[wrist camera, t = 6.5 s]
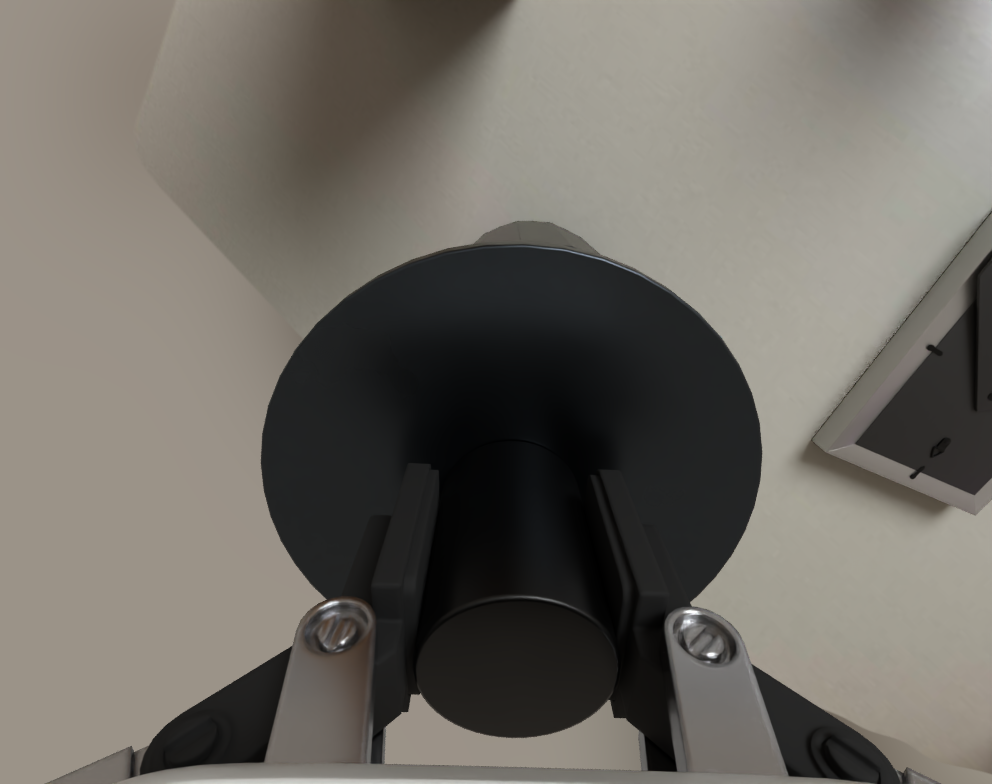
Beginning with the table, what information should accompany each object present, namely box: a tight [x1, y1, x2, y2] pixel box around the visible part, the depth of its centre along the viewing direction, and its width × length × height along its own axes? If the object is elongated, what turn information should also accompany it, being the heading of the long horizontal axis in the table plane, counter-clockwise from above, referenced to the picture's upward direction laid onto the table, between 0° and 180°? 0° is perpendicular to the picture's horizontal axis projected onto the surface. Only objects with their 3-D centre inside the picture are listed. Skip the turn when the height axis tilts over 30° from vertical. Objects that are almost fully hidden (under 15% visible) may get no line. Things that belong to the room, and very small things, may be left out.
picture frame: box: [812, 213, 992, 515], centre depth 39 cm, size 16×3×21 cm
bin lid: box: [261, 241, 762, 738], centre depth 11 cm, size 13×13×6 cm
